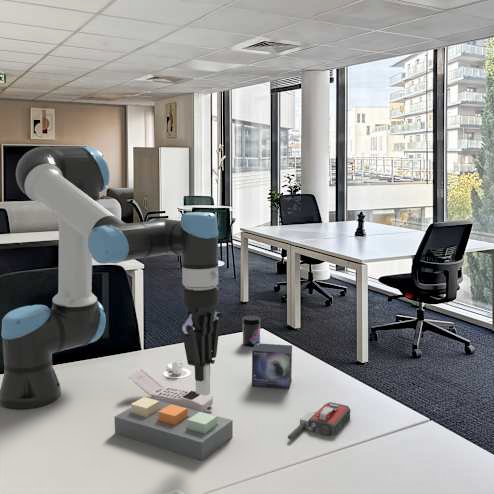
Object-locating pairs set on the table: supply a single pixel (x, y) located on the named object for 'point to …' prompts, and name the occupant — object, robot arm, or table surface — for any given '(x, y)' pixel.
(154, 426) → the button console
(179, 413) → the orange button
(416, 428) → the table surface
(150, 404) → the sand button
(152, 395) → the mobile phone
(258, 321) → the supplement container
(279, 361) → the small box
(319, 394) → the table surface
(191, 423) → the sage button
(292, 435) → the walkie-talkie
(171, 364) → the white candle holder
